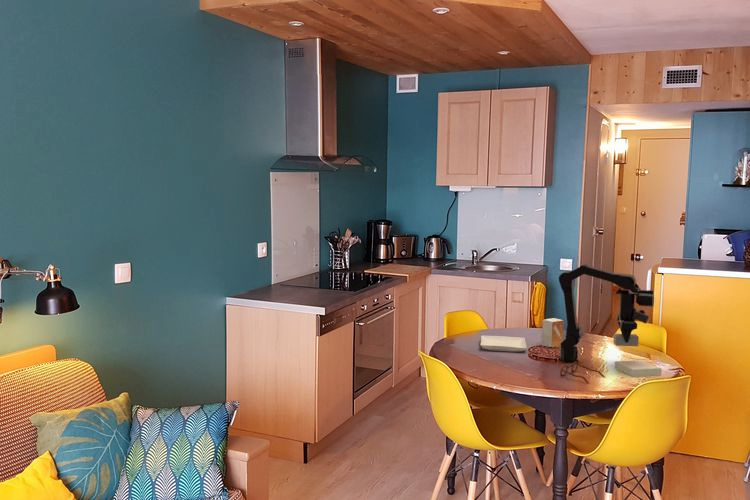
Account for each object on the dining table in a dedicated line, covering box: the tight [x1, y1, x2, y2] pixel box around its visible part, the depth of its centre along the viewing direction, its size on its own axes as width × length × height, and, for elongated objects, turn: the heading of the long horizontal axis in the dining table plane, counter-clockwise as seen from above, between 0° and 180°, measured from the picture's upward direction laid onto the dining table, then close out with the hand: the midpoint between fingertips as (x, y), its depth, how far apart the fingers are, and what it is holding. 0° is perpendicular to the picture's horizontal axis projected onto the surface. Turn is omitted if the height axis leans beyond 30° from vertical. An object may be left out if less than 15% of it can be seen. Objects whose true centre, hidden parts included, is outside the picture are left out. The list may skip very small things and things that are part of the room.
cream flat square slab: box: [480, 335, 528, 353], centre depth 312 cm, size 21×21×3 cm
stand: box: [614, 359, 662, 378], centre depth 272 cm, size 13×13×3 cm
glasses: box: [559, 361, 606, 384], centre depth 264 cm, size 13×13×5 cm
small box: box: [541, 317, 565, 348], centre depth 313 cm, size 8×6×13 cm
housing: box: [613, 333, 639, 347], centre depth 276 cm, size 5×9×5 cm, turn 81°
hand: (625, 341), depth 276 cm, fingers closed on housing, 5 cm apart
